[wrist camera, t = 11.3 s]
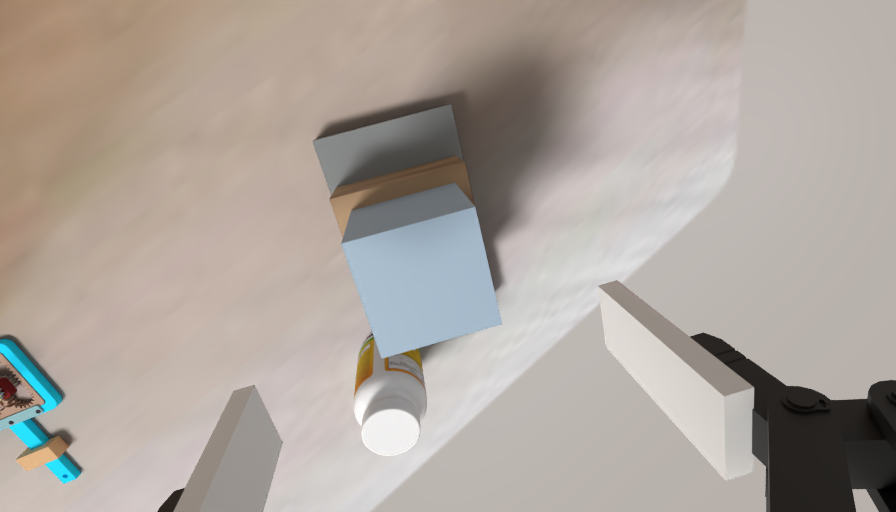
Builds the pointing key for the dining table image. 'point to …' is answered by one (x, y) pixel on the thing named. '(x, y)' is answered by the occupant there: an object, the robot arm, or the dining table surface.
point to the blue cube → (421, 269)
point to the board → (388, 146)
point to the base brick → (399, 186)
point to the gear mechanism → (31, 414)
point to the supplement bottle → (389, 399)
